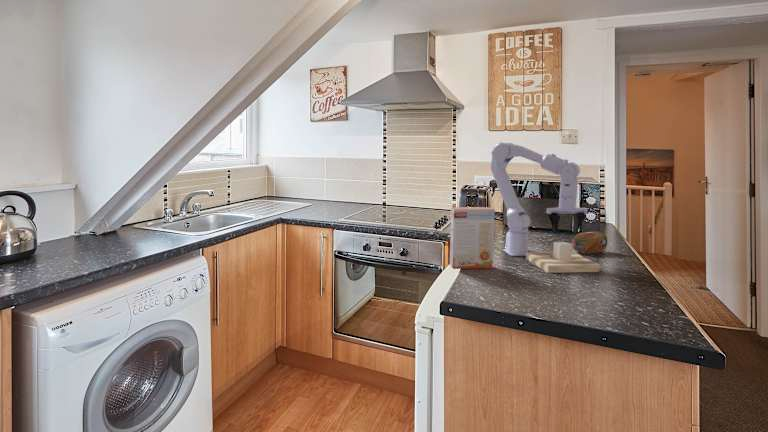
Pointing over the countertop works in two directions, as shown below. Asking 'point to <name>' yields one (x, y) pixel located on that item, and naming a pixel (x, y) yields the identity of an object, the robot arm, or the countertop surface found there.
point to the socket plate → (562, 263)
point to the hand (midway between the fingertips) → (565, 233)
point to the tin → (589, 242)
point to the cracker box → (472, 237)
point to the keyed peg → (562, 251)
